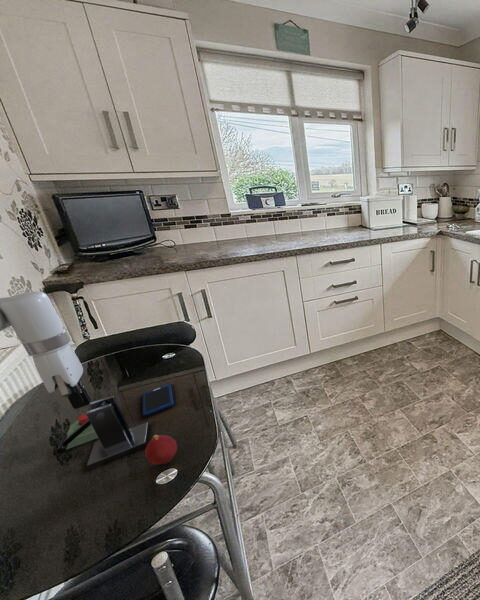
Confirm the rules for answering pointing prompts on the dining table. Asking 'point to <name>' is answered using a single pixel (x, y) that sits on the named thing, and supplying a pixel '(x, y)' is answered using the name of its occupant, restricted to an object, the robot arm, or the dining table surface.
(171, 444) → the onion
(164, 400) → the cell phone
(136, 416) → the dining table surface
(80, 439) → the button housing
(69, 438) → the press lever
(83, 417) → the red button
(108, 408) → the lever bracket
